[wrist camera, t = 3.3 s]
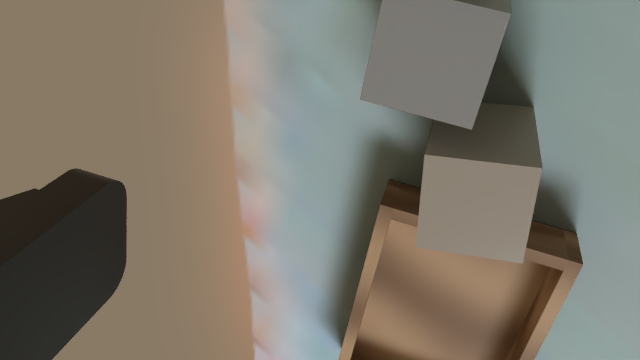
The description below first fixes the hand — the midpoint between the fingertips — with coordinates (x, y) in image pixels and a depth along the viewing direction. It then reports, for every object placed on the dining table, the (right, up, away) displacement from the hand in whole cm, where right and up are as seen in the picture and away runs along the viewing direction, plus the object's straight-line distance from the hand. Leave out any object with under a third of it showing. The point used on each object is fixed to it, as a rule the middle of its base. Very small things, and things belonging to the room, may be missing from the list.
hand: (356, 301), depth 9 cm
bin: (+6, -4, +22) cm, 23 cm away
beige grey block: (+7, +3, +17) cm, 19 cm away
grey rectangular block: (+5, +9, +15) cm, 18 cm away
